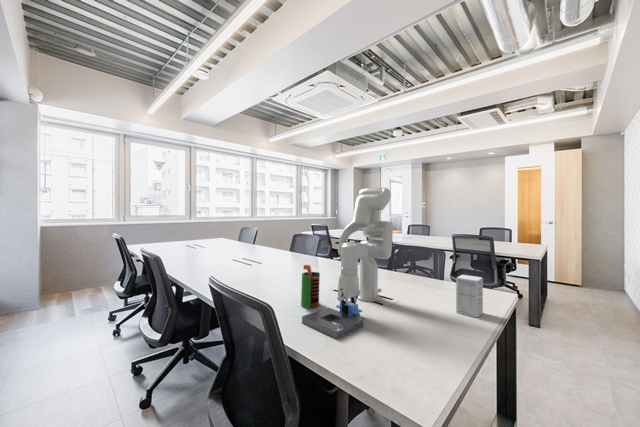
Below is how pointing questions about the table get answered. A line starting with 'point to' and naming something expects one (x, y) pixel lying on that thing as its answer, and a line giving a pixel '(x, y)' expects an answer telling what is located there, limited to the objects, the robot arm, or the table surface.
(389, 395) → the table surface
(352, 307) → the servo
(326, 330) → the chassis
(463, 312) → the supplement box
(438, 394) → the table surface
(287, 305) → the table surface
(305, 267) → the motor
